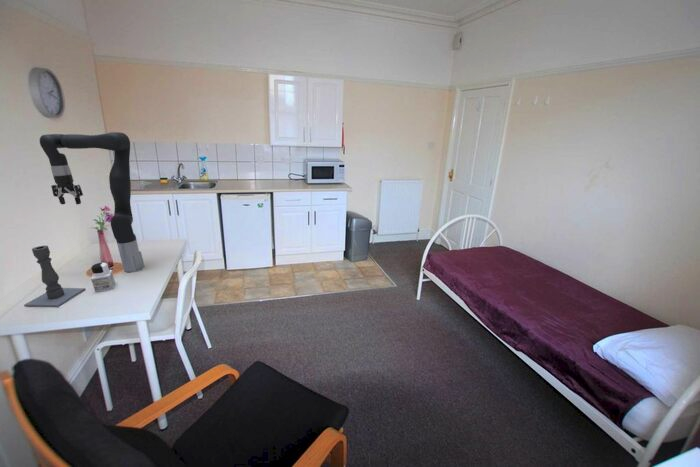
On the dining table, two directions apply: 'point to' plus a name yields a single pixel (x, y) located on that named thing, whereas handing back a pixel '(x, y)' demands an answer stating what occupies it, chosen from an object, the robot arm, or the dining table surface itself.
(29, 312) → the dining table surface
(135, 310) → the dining table surface
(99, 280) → the container
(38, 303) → the mat
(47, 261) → the candle holder
